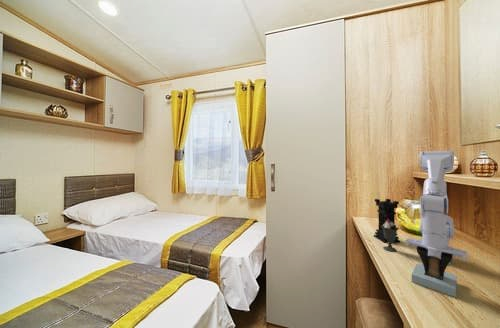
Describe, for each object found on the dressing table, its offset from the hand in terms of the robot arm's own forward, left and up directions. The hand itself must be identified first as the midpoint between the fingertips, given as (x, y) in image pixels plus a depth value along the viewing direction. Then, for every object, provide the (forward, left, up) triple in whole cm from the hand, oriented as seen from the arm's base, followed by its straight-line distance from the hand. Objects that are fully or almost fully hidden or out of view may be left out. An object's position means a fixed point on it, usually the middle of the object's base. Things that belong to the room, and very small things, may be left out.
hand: (434, 272), depth 63 cm
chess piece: (-30, -20, -3) cm, 36 cm away
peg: (0, 0, -2) cm, 2 cm away
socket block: (0, 0, -3) cm, 3 cm away
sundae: (-18, -16, -3) cm, 24 cm away
